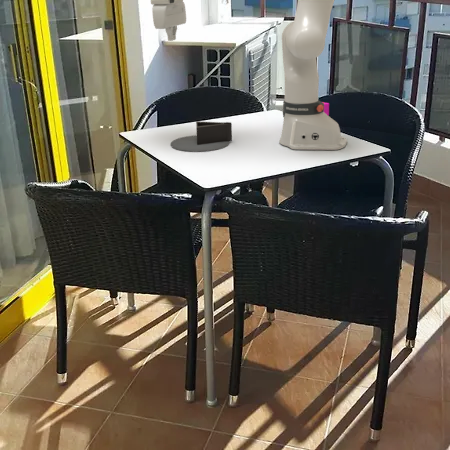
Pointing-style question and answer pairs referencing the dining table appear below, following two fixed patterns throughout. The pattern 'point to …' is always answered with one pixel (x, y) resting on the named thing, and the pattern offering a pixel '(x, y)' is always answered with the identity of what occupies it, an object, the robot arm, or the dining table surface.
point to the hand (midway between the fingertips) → (171, 40)
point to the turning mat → (191, 145)
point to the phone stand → (213, 132)
